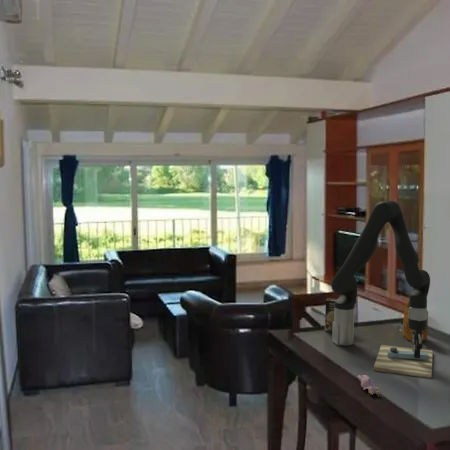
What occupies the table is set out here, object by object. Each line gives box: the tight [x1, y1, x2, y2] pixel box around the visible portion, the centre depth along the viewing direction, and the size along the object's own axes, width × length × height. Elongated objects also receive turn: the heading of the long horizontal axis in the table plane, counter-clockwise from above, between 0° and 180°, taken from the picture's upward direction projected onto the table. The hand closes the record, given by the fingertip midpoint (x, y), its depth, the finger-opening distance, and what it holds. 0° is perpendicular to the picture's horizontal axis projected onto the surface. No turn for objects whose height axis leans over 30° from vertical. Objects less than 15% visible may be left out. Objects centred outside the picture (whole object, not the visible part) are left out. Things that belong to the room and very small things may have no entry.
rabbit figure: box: [357, 374, 381, 396], centre depth 204 cm, size 6×6×15 cm
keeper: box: [410, 341, 427, 351], centre depth 240 cm, size 4×6×4 cm, turn 12°
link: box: [387, 350, 428, 360], centre depth 234 cm, size 16×5×2 cm, turn 80°
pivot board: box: [373, 344, 434, 379], centre depth 234 cm, size 30×22×6 cm
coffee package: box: [402, 299, 429, 342], centre depth 265 cm, size 10×12×22 cm
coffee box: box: [324, 297, 338, 333], centre depth 279 cm, size 9×6×16 cm
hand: (417, 357), depth 230 cm, fingers closed
